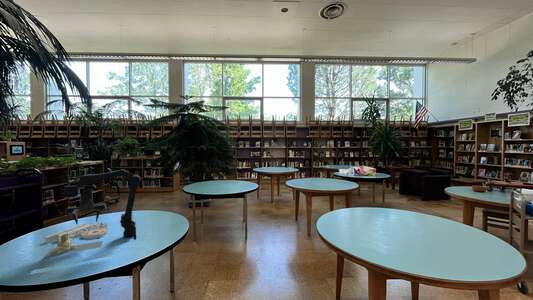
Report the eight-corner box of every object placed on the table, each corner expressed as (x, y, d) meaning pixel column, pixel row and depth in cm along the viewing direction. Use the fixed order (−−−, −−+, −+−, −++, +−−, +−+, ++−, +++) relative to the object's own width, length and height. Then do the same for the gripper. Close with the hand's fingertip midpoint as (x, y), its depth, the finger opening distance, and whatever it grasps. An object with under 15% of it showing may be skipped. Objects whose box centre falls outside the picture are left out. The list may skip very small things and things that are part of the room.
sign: (89, 221, 175) (125, 224, 168) (89, 227, 175) (125, 229, 169) (43, 237, 145) (84, 241, 139) (43, 244, 145) (85, 248, 139)
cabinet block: (72, 246, 136) (71, 232, 136) (69, 251, 131) (68, 236, 130) (60, 248, 134) (60, 234, 134) (57, 253, 128) (56, 238, 128)
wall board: (103, 243, 144) (103, 237, 144) (100, 249, 135) (100, 243, 135) (51, 251, 134) (51, 245, 133) (44, 259, 125) (44, 252, 125)
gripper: (61, 200, 130) (62, 229, 130) (103, 197, 138) (104, 224, 139) (67, 197, 140) (68, 223, 140) (106, 193, 148) (106, 219, 149)
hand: (86, 223), depth 142 cm, fingers open, 9 cm apart
